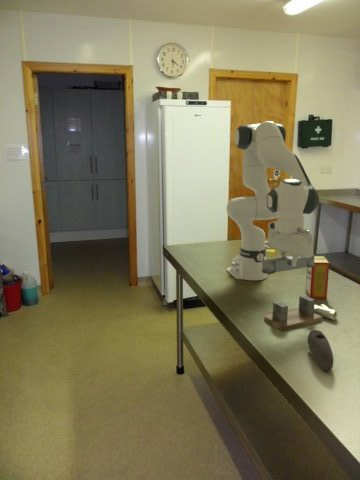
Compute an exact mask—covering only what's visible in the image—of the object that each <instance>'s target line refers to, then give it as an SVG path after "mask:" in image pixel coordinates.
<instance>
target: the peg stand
mask: <svg viewBox="0 0 360 480" xmlns="http://www.w3.org/2000/svg"><path fill="white" fill-rule="evenodd" d="M315 300H316V299H312V298H310V297H309V296H308V295H305V294H303V295H299V300H298V307H296V308H292V309H289V305H287V304H285V303H283V302H282V301H280V300H276V301H273V302H272V313H270V314H266V315H264V316H263V320H264V321H265V322H267V323H268V324H270V325H272V326H273V327H274V328H277V330H280V331H281V332H283V331H288V330H292V329H296V328H299V327H303V326H307V325H311V324H315V323H318V322H322V321H323V316H320V315H318V314H316V313H314V305H315Z"/></svg>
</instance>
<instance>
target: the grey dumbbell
mask: <svg viewBox="0 0 360 480" xmlns="http://www.w3.org/2000/svg"><path fill="white" fill-rule="evenodd" d="M315 256H316V255H315V254H314V253H313V255H312V257H309V258H302V257H299V258H298V260H297V263H296V266H294V267H293V266H290V261H292V259H293V257H292V255H291V256H287V257H283V258H281V257H278V258H271V259H270V258H269V259H268V258H266V259H265V260H262V273H265V274H268V275H273V274H275V273H279V272H280V273H281V272H285V271H291V270H299V269H303V268H307V267H314V259H315Z"/></svg>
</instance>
